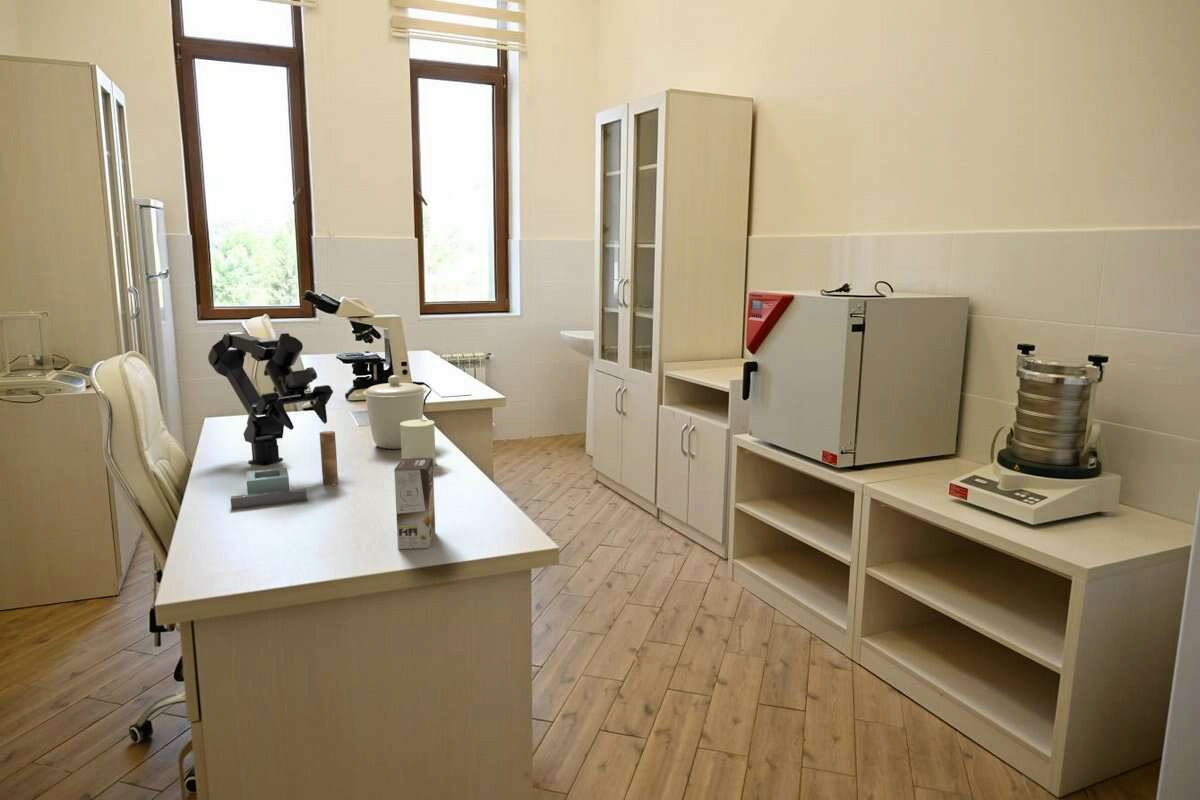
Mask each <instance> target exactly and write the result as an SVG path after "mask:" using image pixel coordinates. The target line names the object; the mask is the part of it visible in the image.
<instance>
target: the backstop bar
mask: <svg viewBox="0 0 1200 800" xmlns="http://www.w3.org/2000/svg"><path fill="white" fill-rule="evenodd" d="M307 493H308V491H307V487H306V488H302V487H301V488H295V489H290V490H284V491H275V492H266V493H257V494H248V493H247V494H241V495H231V496H230V509H233V510H239V509H238V508H241V509H247V508H246V507H250V508H257V507H258V508H259V507H266V506H273V505H274V504H275V505H282V504H292V503H298V502H299V503H300V502H306V501H308V494H307Z"/></svg>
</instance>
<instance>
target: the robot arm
mask: <svg viewBox="0 0 1200 800" xmlns="http://www.w3.org/2000/svg"><path fill="white" fill-rule="evenodd" d="M303 348H304V347H303V342H302V341H301V340H300V339H298V338H296V337H294V336H292V335H290V333H289V332H286V333H280V335H279V337H269V338H261V337H256V336H253V335H249V334H246V333H244V332H241V331H240V332H238V331H237V332H236V331H235V332H227V333H225V334H223V336H222V338H221V339H220V340H218V341H217V342H216V343H215V344H213V345H212V347H211V348H210V350H209V353H208V358H207V359H208V363H209V365H211V367H212V368H213V369H214V371H215V372H216V373H217V374H219V375H221V376H223V377H225V378H226V379H227V380H228V381H229V384H230V385H231V387H232V389H233V390H234V392H235V394H236V396H237V397H238V399H239V400H240V402H241V404H242V405H243V408H244V409H245V411H246V412H247V416H248V417H247V421H246V425H247V426H246V428H245V429H244V432H243V438H244V441H245V442H247V443H250V444H251V445H250V446H251V456H252V459H251V460H248V461H247V462H248V464H254V463H255V465H262V466H266V465H270V464H273V463H276V462H280V461H283V460H284V458H283V457H280V453H279V445H278V439H283V436H284V430H285V429H284V428H285V427H286V428H287V429H288V430H291V431H292V430H294V424H293V422H292V420H291V418H290V417H289V415H288V413H287V411H286V409H285V405H293V404H294V405H295V404H299V403H305V402H306V403H307V402H309V403H310V404H311V406H312V410H313V412H314V413H315V414H316V415H317V416H318V418H319V419H320V421H321V422H322V423H323V424H327V423H328V415H327V407H326V405H327V404H328V402H329V400H330V399H331V397H332V395H333V393H334V390H333V389H332V387H331V386H330V385H328V384H323V385H316V386H314V387H313V389H312V391H311V392H308V393H306V392H305V391H307V390H308V388H309V386H308V384H310V383H313V382H314V381H315V380H317V378H318V374H317V371H316V369H315V368H314V367H313V366H312V367H306V368H305V369H303V370H302V369H301V370H300V369H299V370H293V368H292V366H295V364H296V362H297V361H298V359H299V356H300V354H301V352H302V350H303ZM247 353H249V354H250V356H251V358H252V359H254V360H256V361H257V362H258V363H259V362H266V365H265V367H264V371H263V376H264V377H266V376H267V377H268V376H269V378H270V380H271V382H272V384H273V385H274V387H272V388H273V389H272V390H273V392H267V393H262V394H261V395H260V393H259V392H258V391H257V389H256V387H255V385H254V384H253V382H252V380H251V379H250V377H249V376H248V373H247V372H246V370H245V368H244V364H245V363H244V362H245V357H246V356H247Z"/></svg>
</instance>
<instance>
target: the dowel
mask: <svg viewBox="0 0 1200 800" xmlns="http://www.w3.org/2000/svg"><path fill="white" fill-rule="evenodd" d="M336 444H337V442H336V431H333V430H326V431H325V430H324V431H321V432H319V446H320V447H319V448H320V458H321V459H320V460H321V461H320V462H321V475H322V485H323V484H324V485H323V486H325V485H331V486H334V485H333V484H336V485H338V484H339V475H338V473H339V472H338V471H339V470H338V459H337V458H338V457H337V447H336V446H337V445H336ZM337 483H338V484H337Z"/></svg>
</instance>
